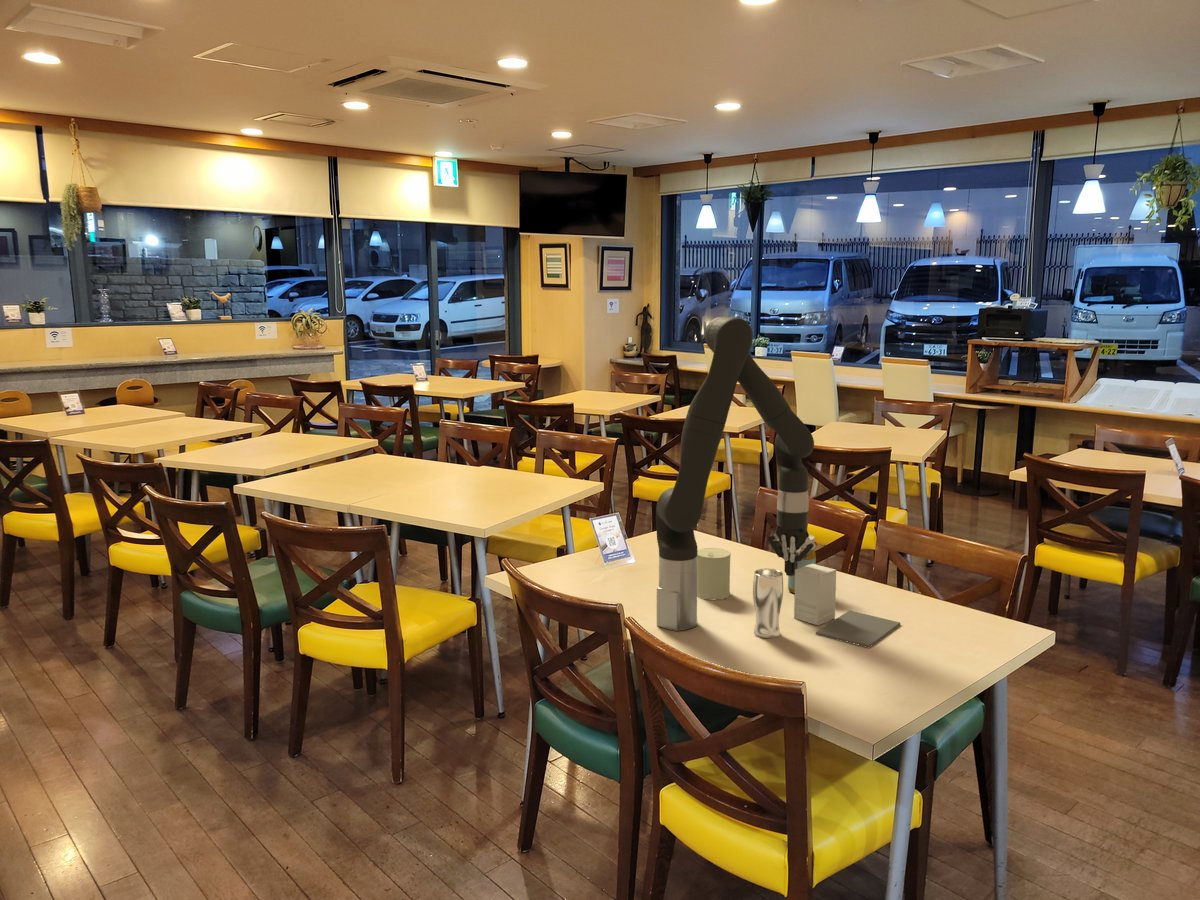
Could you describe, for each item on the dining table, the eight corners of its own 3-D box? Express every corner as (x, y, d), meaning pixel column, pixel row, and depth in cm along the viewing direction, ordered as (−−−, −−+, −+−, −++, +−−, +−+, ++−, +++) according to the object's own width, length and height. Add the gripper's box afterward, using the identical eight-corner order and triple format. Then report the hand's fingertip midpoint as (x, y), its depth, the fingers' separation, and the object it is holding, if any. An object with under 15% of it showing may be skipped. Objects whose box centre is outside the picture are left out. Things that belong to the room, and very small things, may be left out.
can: (691, 597, 231) (691, 554, 229) (700, 586, 239) (701, 544, 237) (725, 602, 228) (726, 557, 226) (733, 590, 236) (734, 548, 234)
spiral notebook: (868, 648, 197) (868, 645, 197) (815, 634, 206) (815, 631, 206) (900, 624, 211) (900, 622, 211) (849, 612, 219) (849, 610, 219)
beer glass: (764, 641, 202) (765, 579, 199) (745, 631, 208) (747, 570, 205) (788, 636, 205) (790, 574, 202) (769, 626, 211) (770, 566, 208)
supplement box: (835, 618, 215) (837, 569, 213) (817, 626, 211) (819, 576, 208) (811, 610, 221) (812, 562, 219) (792, 617, 216) (794, 568, 214)
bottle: (814, 596, 231) (816, 541, 229) (787, 594, 233) (789, 540, 230) (814, 587, 238) (815, 534, 235) (787, 586, 239) (789, 532, 237)
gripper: (761, 506, 217) (759, 573, 220) (810, 514, 208) (808, 584, 211) (776, 501, 222) (774, 566, 226) (824, 508, 214) (822, 576, 217)
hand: (790, 575), depth 218 cm, fingers closed
